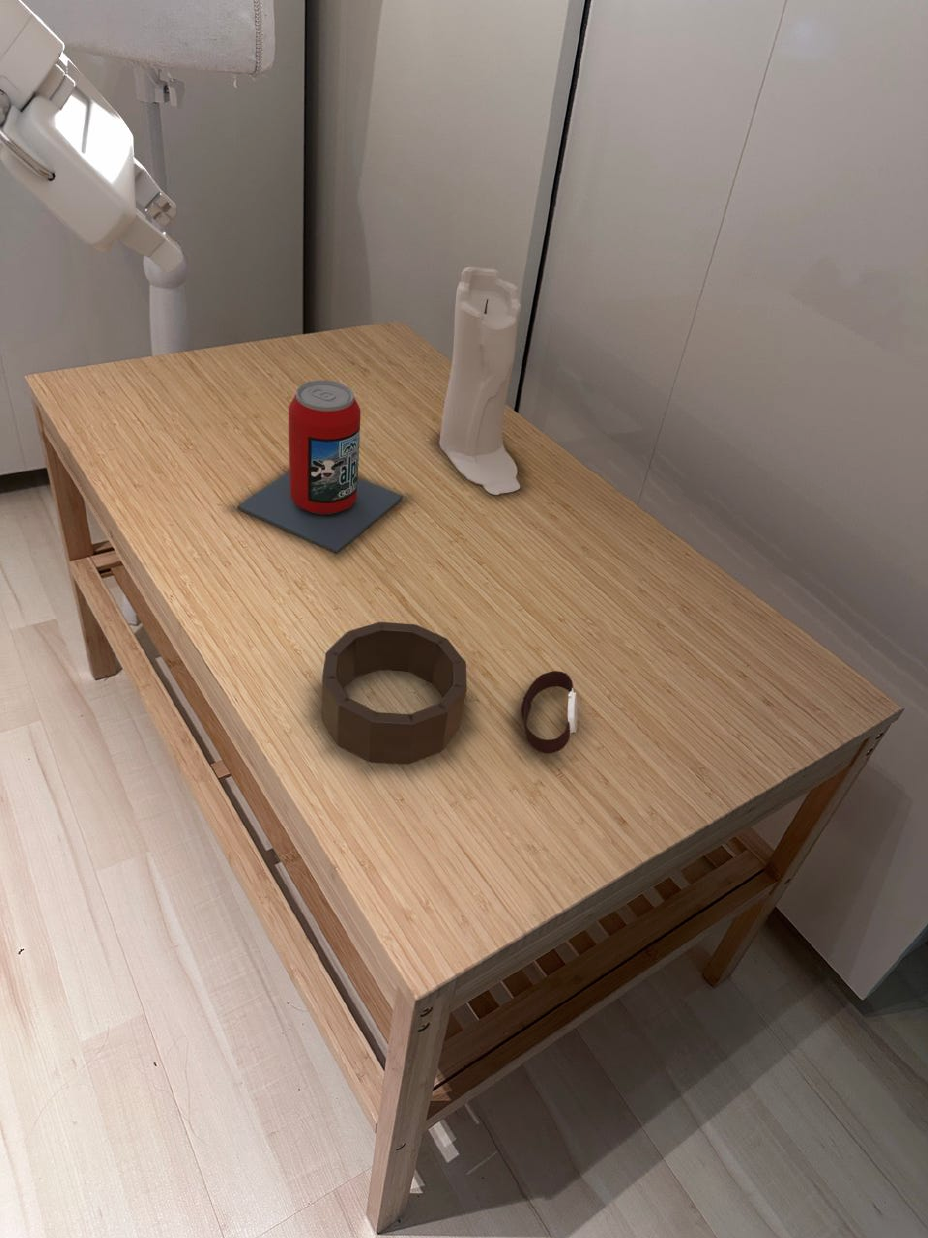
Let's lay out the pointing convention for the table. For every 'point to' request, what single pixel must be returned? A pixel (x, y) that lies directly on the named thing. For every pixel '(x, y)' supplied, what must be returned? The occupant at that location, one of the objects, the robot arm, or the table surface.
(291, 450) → the beverage can
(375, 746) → the faceted ring
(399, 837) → the table surface
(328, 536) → the mat
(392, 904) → the table surface
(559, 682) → the watch
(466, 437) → the candle
